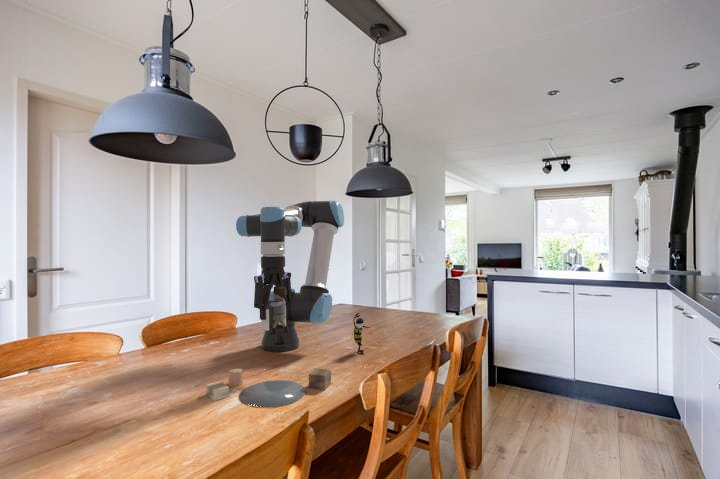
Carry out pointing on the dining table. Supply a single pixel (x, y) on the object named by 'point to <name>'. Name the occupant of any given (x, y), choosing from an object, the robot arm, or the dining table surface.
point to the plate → (272, 393)
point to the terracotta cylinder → (235, 377)
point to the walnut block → (320, 379)
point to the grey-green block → (217, 390)
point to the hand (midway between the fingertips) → (274, 327)
